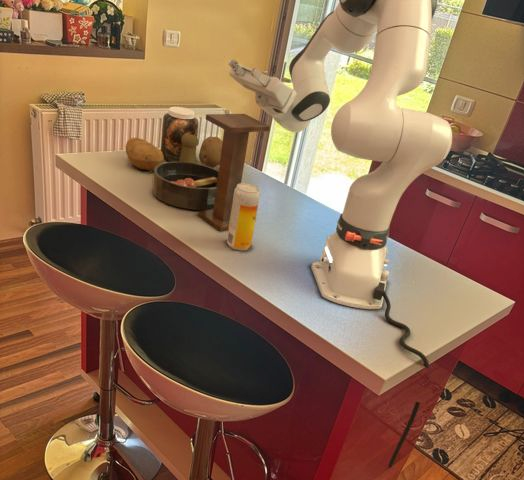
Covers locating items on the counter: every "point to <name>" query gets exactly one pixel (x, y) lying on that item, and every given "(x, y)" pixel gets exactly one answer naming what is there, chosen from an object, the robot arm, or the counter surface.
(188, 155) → the cork
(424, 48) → the robot arm
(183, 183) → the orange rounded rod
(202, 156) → the round brown potato
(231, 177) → the walnut stand
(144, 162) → the potato
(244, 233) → the beer can
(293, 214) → the counter surface
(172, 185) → the round cake pan
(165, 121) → the jar
